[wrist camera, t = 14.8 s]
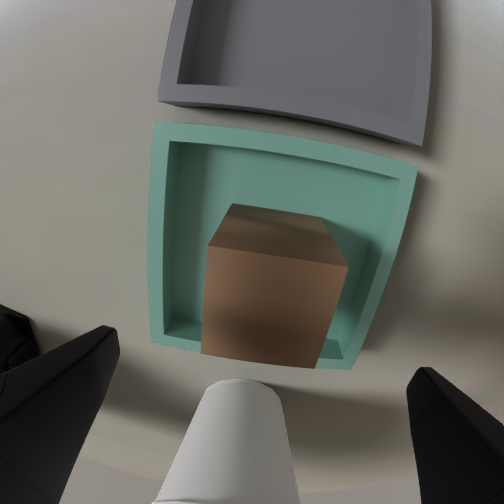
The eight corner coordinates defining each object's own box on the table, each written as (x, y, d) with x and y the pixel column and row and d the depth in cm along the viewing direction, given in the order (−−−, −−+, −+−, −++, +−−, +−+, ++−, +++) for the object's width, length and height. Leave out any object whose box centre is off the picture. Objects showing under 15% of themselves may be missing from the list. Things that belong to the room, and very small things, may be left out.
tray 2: (164, 318, 18) (151, 342, 16) (172, 124, 14) (154, 122, 12) (343, 344, 18) (351, 369, 16) (397, 161, 14) (418, 166, 11)
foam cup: (203, 346, 19) (151, 529, 7) (322, 384, 20) (341, 548, 8) (173, 413, 23) (136, 540, 10) (268, 442, 23) (262, 563, 11)
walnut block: (223, 282, 16) (200, 353, 11) (232, 203, 15) (207, 245, 9) (302, 293, 16) (314, 368, 11) (320, 217, 15) (348, 267, 9)
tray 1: (174, 105, 13) (157, 101, 11) (212, -63, 9) (204, -84, 7) (400, 143, 13) (422, 146, 11) (410, -27, 9) (426, -43, 6)
